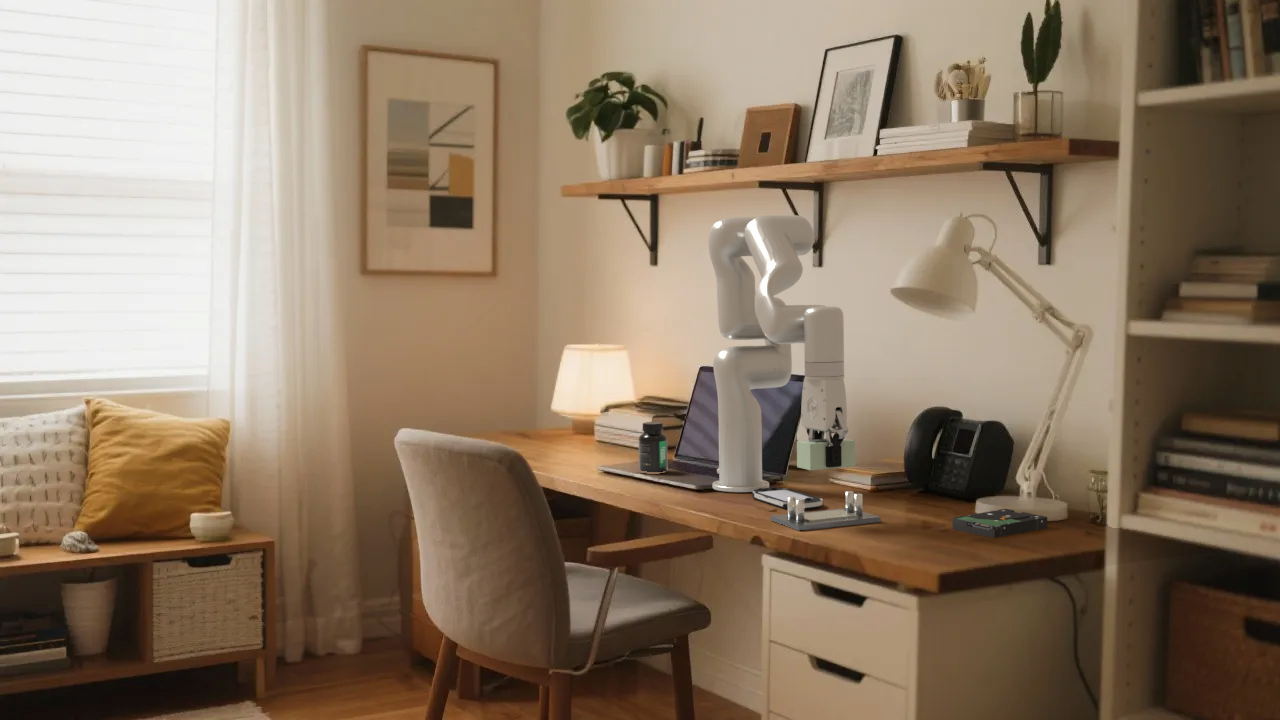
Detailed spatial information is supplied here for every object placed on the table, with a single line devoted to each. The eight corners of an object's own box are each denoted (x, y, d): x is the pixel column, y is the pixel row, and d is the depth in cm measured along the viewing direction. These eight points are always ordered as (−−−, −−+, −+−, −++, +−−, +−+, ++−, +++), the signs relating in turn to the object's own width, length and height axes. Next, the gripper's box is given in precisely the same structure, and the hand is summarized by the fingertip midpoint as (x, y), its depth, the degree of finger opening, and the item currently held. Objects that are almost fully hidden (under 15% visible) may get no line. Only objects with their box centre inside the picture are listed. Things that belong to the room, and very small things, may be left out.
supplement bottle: (670, 473, 319) (669, 424, 318) (642, 475, 318) (641, 425, 317) (664, 469, 326) (663, 420, 325) (636, 471, 325) (635, 421, 324)
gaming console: (829, 510, 272) (829, 498, 272) (791, 514, 269) (791, 502, 269) (782, 495, 290) (782, 484, 290) (745, 499, 287) (745, 487, 286)
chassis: (770, 520, 260) (770, 495, 260) (849, 512, 267) (849, 487, 267) (799, 531, 250) (798, 504, 250) (880, 522, 257) (880, 496, 257)
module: (797, 467, 258) (796, 439, 258) (841, 463, 262) (841, 436, 262) (810, 470, 253) (810, 442, 253) (855, 466, 257) (855, 438, 257)
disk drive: (1004, 522, 258) (951, 531, 250) (1004, 508, 258) (951, 516, 250) (1048, 531, 250) (994, 540, 241) (1048, 516, 249) (994, 525, 241)
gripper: (785, 369, 263) (786, 461, 264) (830, 374, 247) (832, 472, 248) (818, 367, 266) (819, 458, 267) (865, 372, 250) (866, 468, 251)
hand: (825, 464), depth 258 cm, fingers closed on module, 5 cm apart
